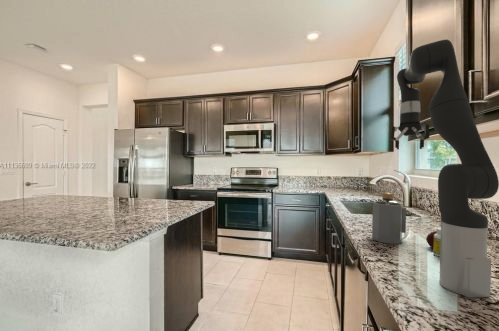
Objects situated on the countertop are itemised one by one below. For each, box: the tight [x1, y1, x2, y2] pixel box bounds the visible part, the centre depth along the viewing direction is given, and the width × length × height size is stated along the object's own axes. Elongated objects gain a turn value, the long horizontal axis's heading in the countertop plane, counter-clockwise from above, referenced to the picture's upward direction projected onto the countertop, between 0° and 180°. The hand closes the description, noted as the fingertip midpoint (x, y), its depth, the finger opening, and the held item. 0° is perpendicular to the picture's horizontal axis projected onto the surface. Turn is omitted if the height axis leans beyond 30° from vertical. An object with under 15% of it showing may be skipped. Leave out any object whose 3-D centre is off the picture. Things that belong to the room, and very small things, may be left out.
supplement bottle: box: [432, 227, 441, 258], centre depth 87 cm, size 5×5×10 cm
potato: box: [426, 230, 437, 249], centre depth 94 cm, size 7×8×7 cm
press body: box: [371, 200, 407, 245], centre depth 104 cm, size 11×14×16 cm
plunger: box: [381, 192, 394, 205], centre depth 104 cm, size 8×8×18 cm
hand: (409, 149), depth 107 cm, fingers open, 8 cm apart
